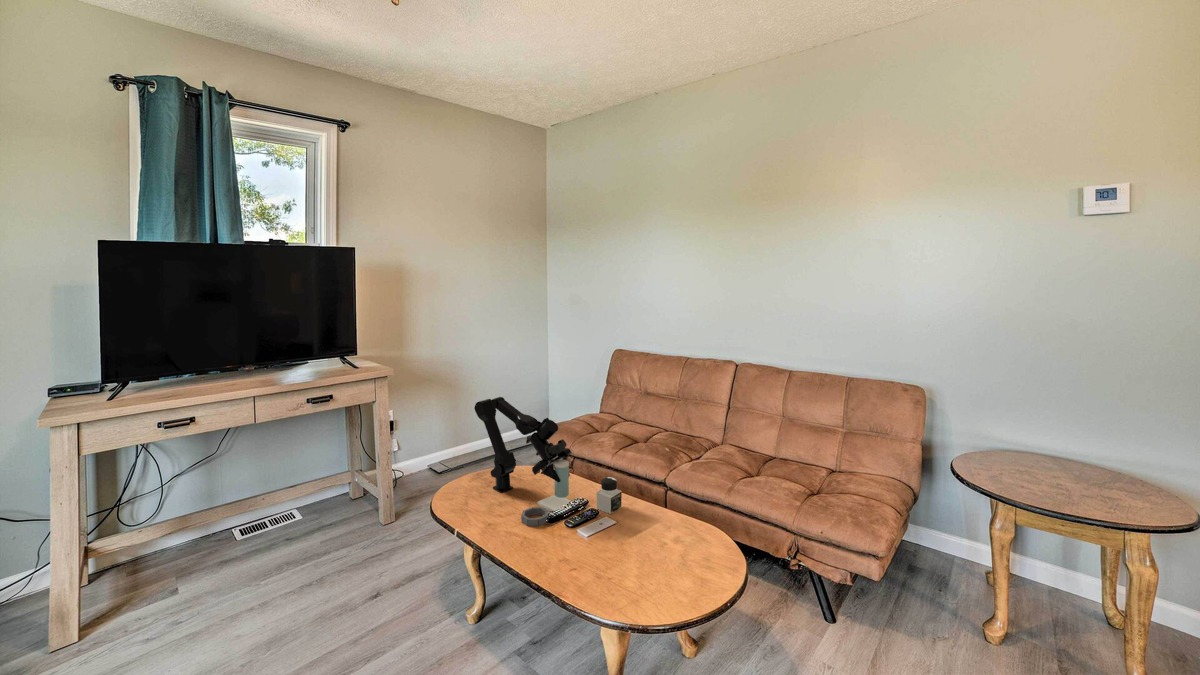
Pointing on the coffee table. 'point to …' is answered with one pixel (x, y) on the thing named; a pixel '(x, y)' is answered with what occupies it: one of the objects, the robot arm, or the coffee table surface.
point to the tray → (554, 503)
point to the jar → (562, 478)
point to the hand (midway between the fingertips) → (564, 479)
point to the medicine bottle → (609, 496)
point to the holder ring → (534, 521)
